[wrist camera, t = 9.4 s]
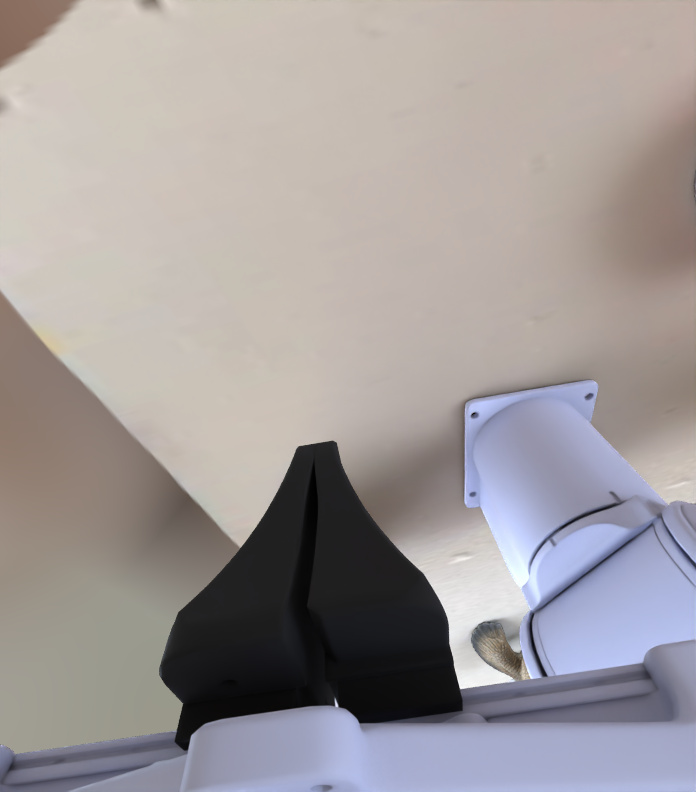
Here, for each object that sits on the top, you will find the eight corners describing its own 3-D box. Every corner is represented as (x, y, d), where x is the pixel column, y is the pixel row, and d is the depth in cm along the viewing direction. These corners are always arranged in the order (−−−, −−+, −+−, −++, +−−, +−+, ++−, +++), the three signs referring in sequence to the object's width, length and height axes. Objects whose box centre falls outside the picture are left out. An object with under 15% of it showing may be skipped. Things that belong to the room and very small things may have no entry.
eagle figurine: (580, 639, 40) (537, 631, 35) (586, 727, 37) (539, 732, 32) (508, 623, 46) (463, 615, 41) (508, 699, 43) (458, 700, 38)
